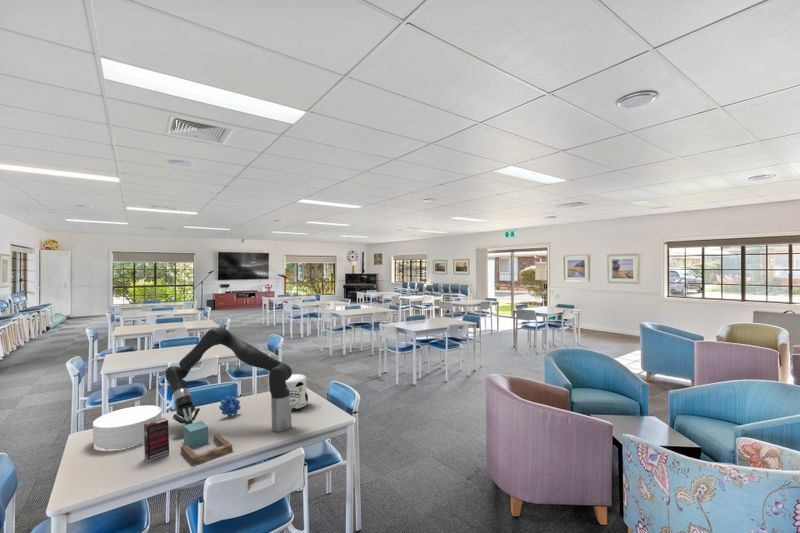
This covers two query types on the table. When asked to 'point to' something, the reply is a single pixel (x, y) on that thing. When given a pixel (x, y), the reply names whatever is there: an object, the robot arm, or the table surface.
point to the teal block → (196, 434)
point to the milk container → (297, 391)
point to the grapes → (230, 406)
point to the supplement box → (156, 439)
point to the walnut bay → (196, 459)
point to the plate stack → (123, 427)
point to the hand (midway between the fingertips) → (190, 428)
